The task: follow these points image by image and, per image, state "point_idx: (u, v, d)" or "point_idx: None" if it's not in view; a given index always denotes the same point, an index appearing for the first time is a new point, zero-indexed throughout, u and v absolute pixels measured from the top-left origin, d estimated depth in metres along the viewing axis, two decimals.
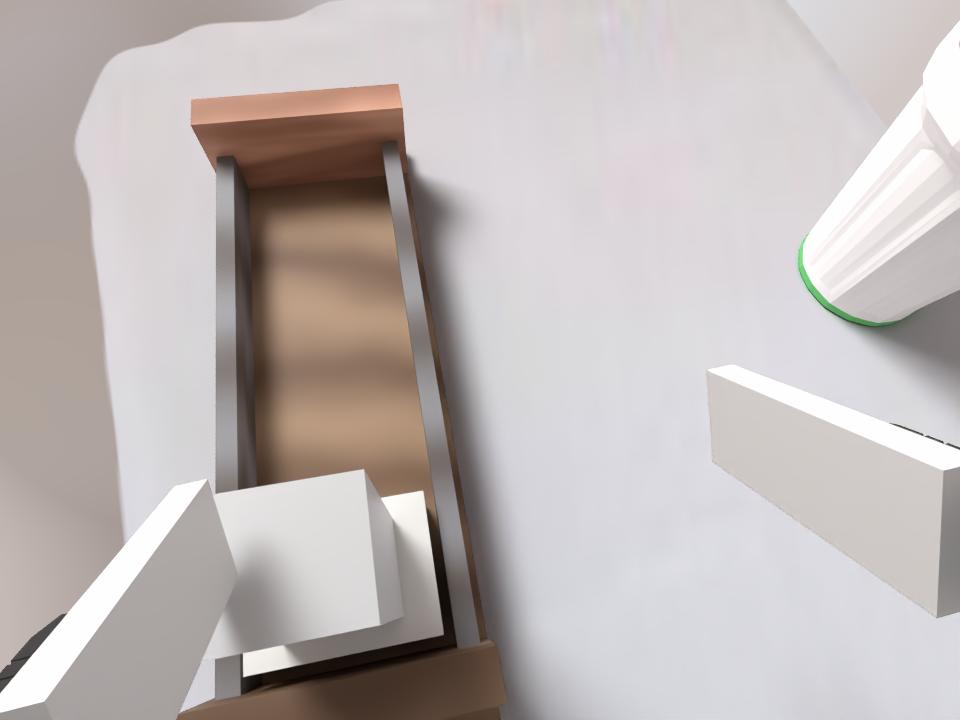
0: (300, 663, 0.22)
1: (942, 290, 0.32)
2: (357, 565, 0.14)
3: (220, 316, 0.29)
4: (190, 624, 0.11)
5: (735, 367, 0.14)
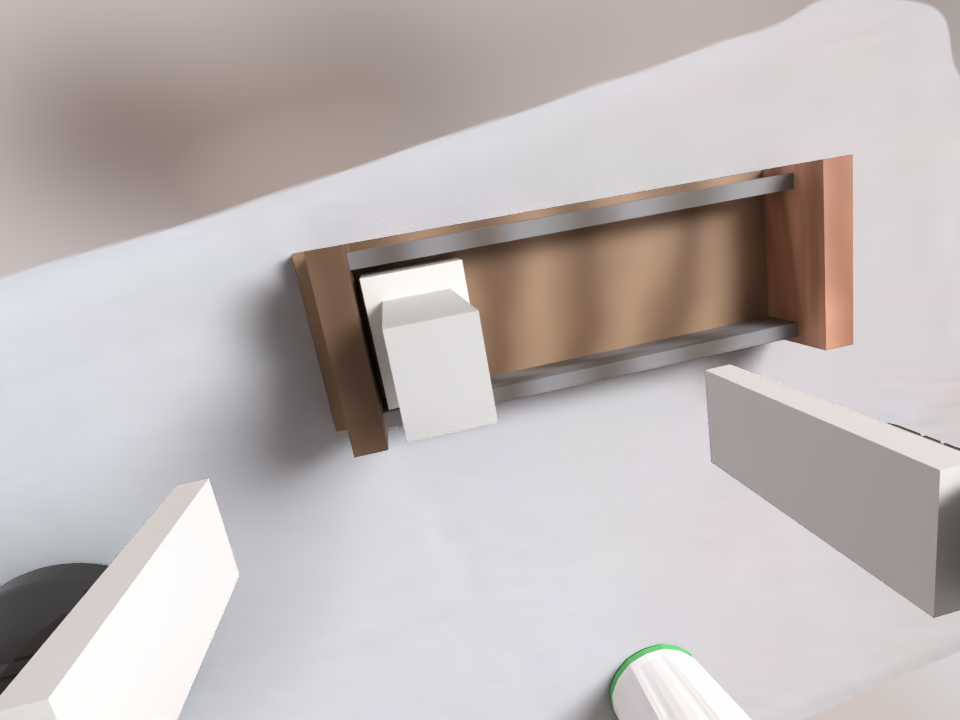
0: (368, 316, 0.32)
1: None
2: (440, 426, 0.24)
3: (632, 205, 0.34)
4: (192, 623, 0.11)
5: (733, 367, 0.15)
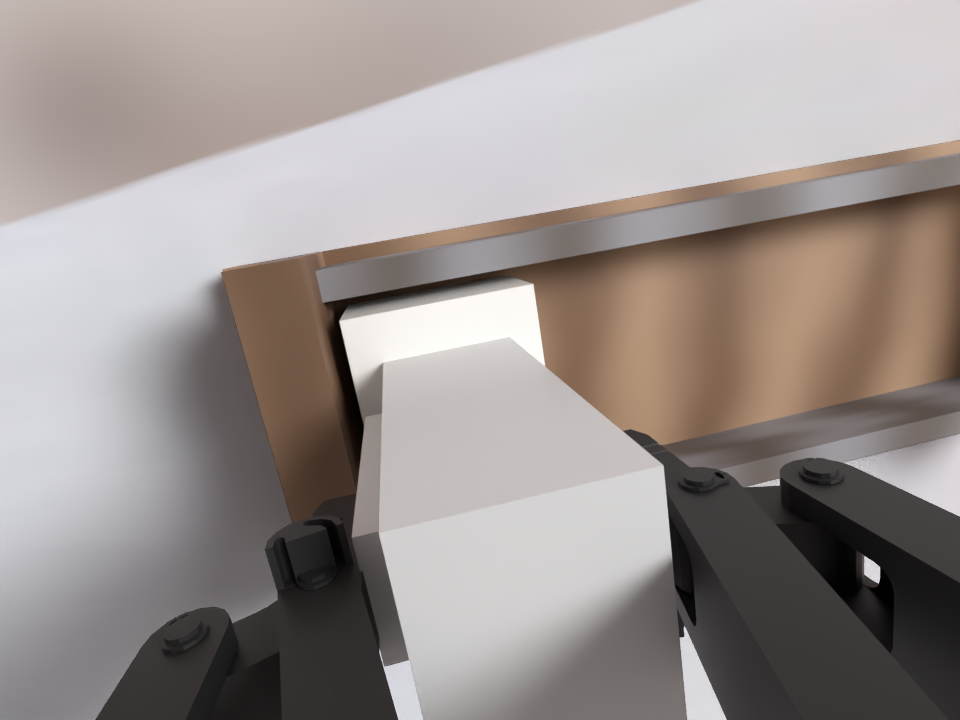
0: (357, 390, 0.17)
1: None
2: None
3: (830, 185, 0.19)
4: None
5: None
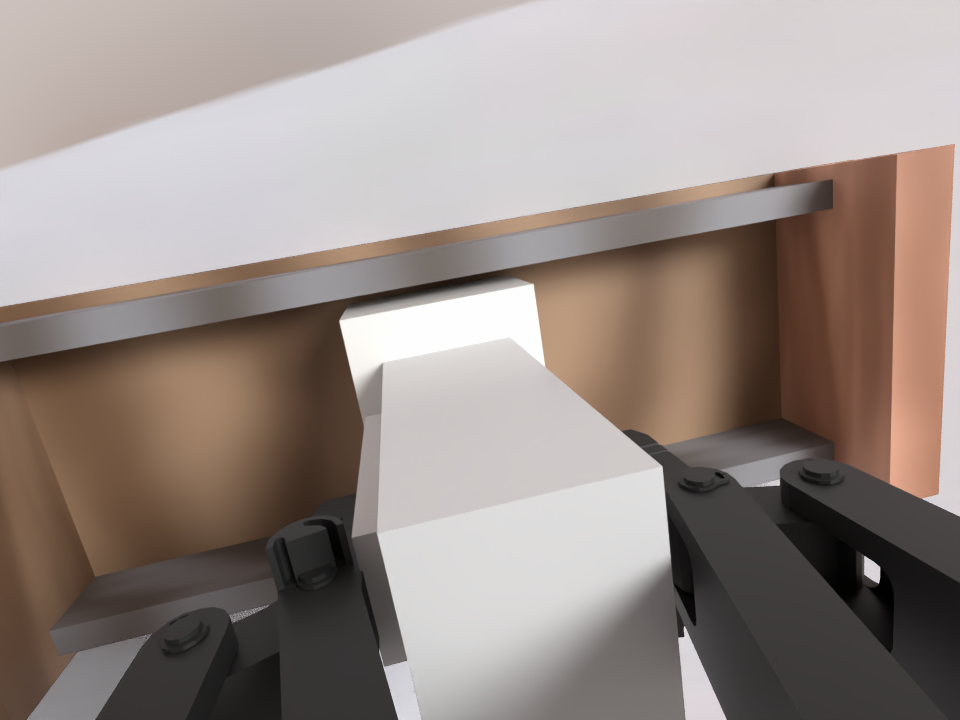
0: (357, 390, 0.17)
1: None
2: None
3: (525, 240, 0.18)
4: None
5: None
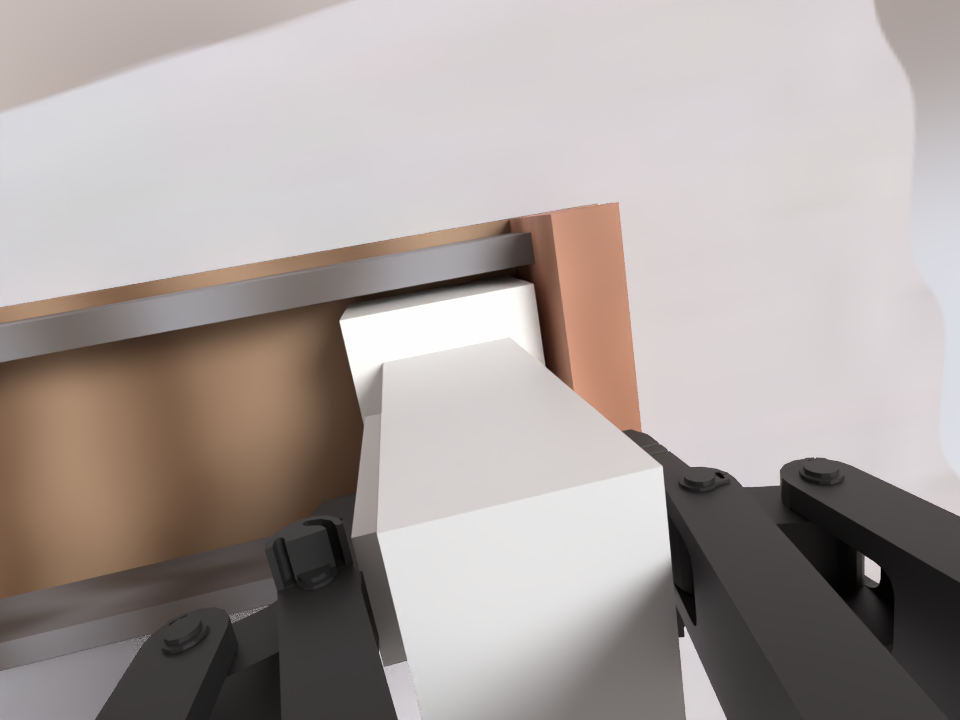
0: (357, 390, 0.17)
1: None
2: None
3: (176, 303, 0.17)
4: None
5: None
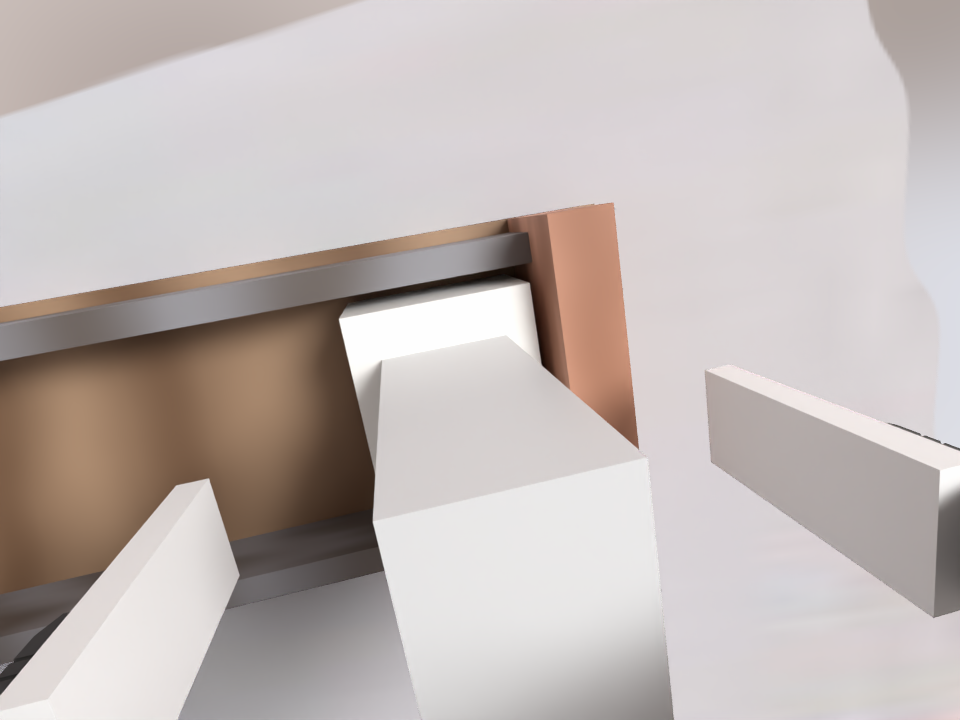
0: (356, 387, 0.17)
1: None
2: None
3: (179, 302, 0.17)
4: (192, 623, 0.11)
5: (733, 367, 0.15)
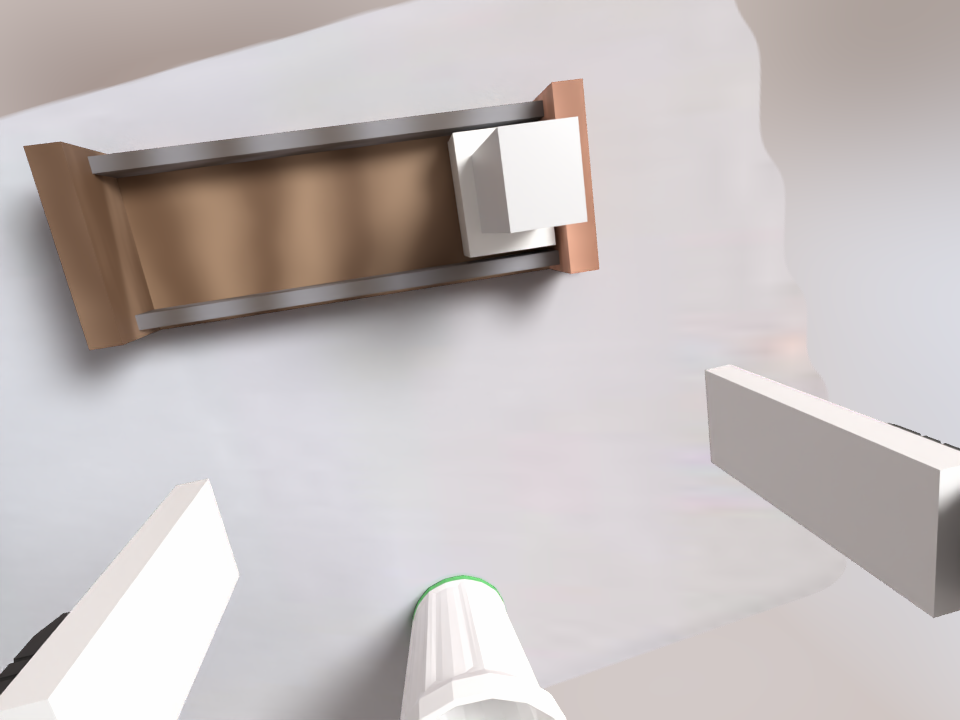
0: (458, 168, 0.36)
1: (407, 664, 0.44)
2: (539, 220, 0.28)
3: (377, 124, 0.36)
4: (192, 623, 0.11)
5: (733, 367, 0.15)
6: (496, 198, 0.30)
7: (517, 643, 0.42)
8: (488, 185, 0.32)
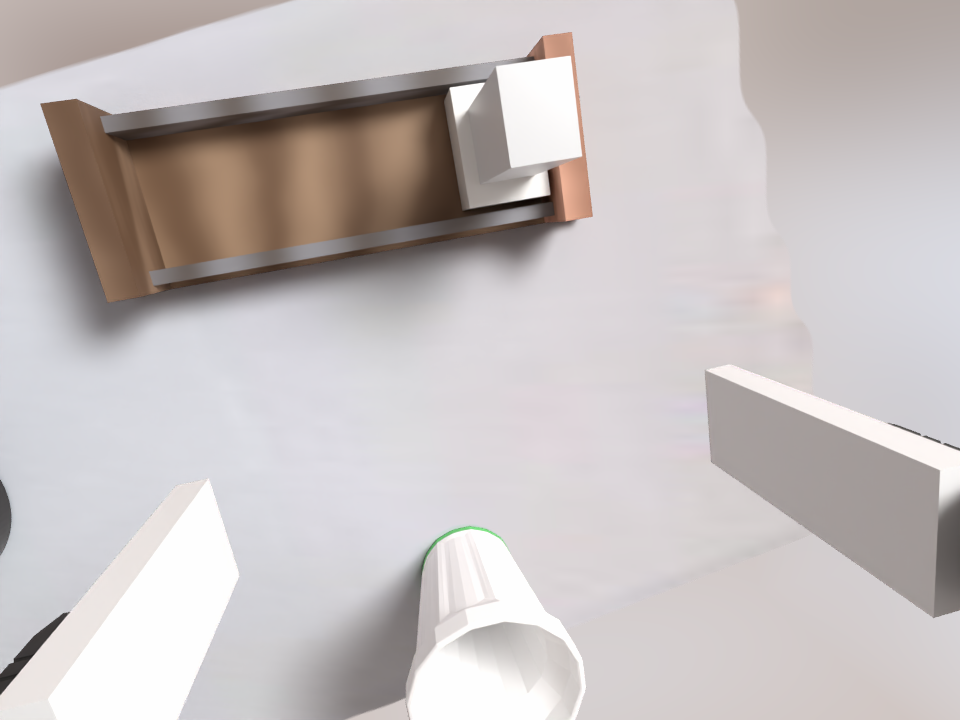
0: (456, 122, 0.38)
1: None
2: (536, 155, 0.29)
3: (377, 81, 0.37)
4: (192, 623, 0.11)
5: (733, 367, 0.15)
6: (495, 140, 0.32)
7: (525, 581, 0.44)
8: (486, 131, 0.33)
